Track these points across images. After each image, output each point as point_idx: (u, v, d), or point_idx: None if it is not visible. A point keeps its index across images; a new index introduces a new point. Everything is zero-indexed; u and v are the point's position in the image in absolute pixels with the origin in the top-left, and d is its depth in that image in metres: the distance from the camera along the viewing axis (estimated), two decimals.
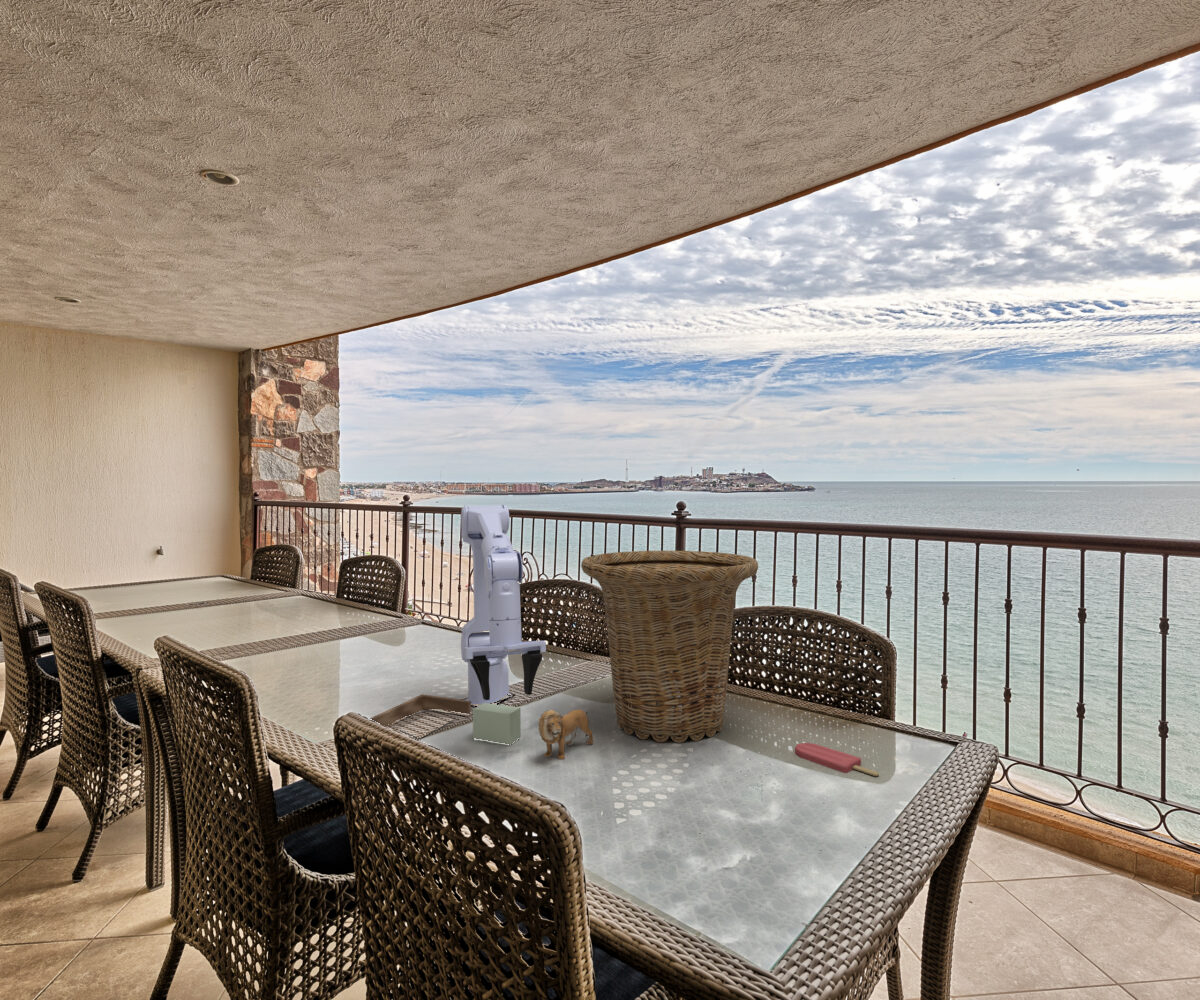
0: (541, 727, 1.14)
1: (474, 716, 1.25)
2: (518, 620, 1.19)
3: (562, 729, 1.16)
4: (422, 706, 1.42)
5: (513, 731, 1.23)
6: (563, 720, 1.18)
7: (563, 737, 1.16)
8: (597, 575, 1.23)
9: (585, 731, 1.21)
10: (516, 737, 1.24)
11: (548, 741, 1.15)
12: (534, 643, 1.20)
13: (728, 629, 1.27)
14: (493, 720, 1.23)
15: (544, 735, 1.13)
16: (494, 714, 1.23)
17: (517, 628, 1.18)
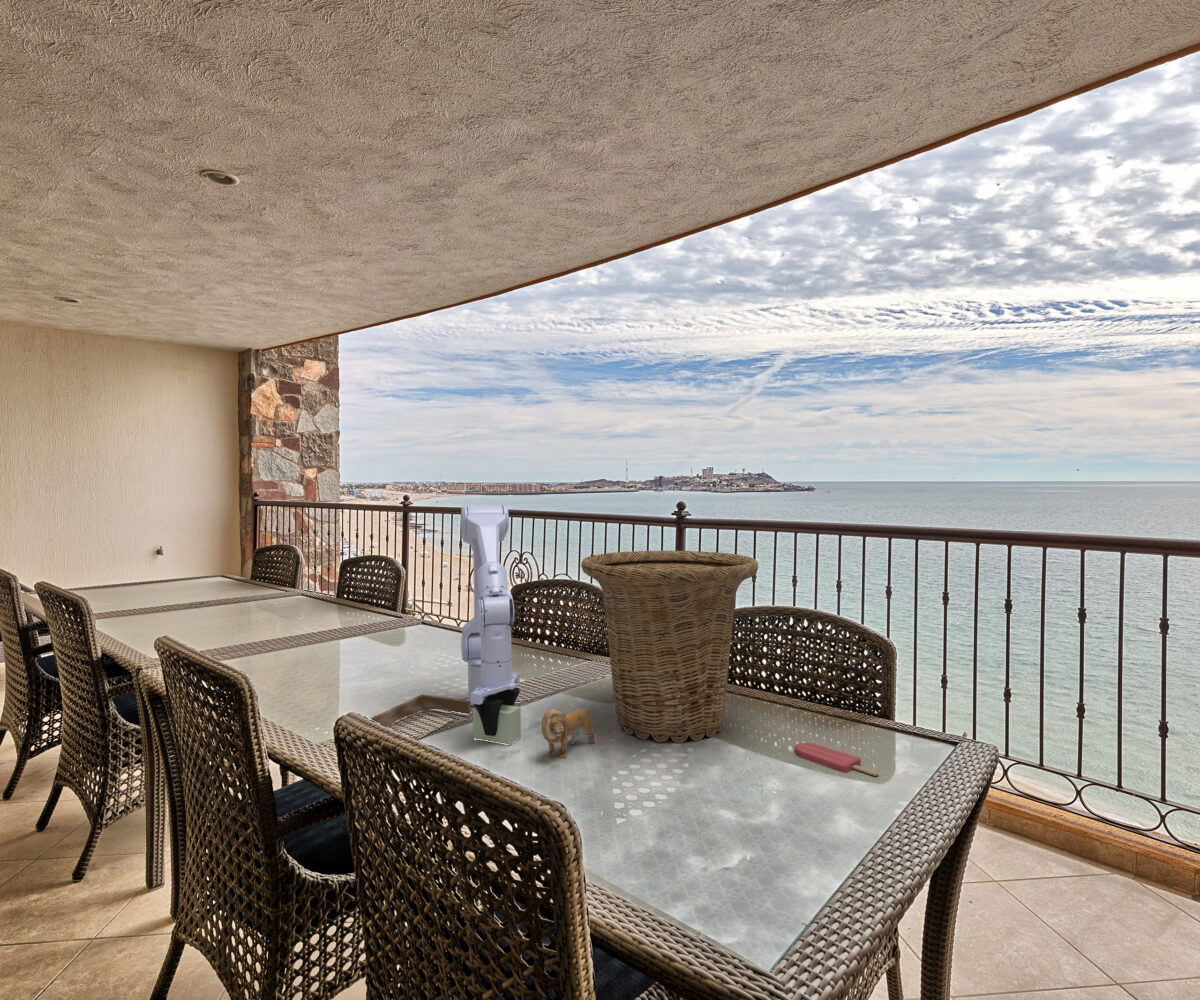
0: (544, 726, 1.14)
1: (474, 715, 1.25)
2: None
3: (565, 728, 1.17)
4: (422, 706, 1.42)
5: (513, 730, 1.23)
6: (565, 719, 1.18)
7: (565, 736, 1.17)
8: (597, 575, 1.23)
9: (587, 730, 1.22)
10: (516, 736, 1.24)
11: (551, 740, 1.15)
12: (516, 677, 1.29)
13: (728, 629, 1.27)
14: None
15: (547, 734, 1.14)
16: None
17: None
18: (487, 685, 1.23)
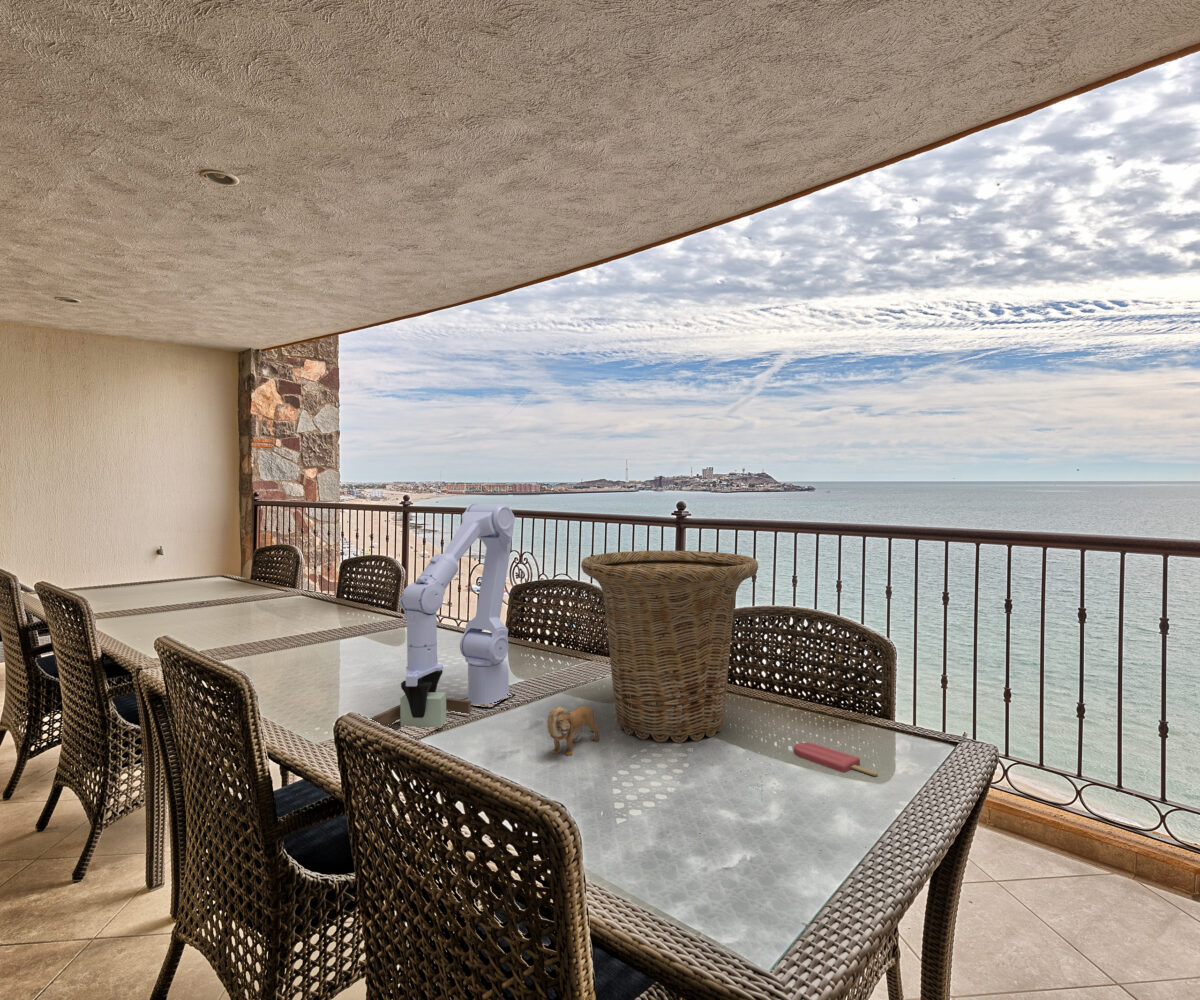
0: (550, 724, 1.15)
1: (402, 705, 1.30)
2: None
3: (570, 726, 1.18)
4: None
5: (442, 714, 1.31)
6: (571, 717, 1.19)
7: (571, 734, 1.18)
8: (597, 575, 1.23)
9: (591, 727, 1.23)
10: (444, 720, 1.32)
11: (557, 738, 1.17)
12: None
13: (728, 629, 1.27)
14: None
15: (553, 732, 1.15)
16: None
17: None
18: (417, 668, 1.29)
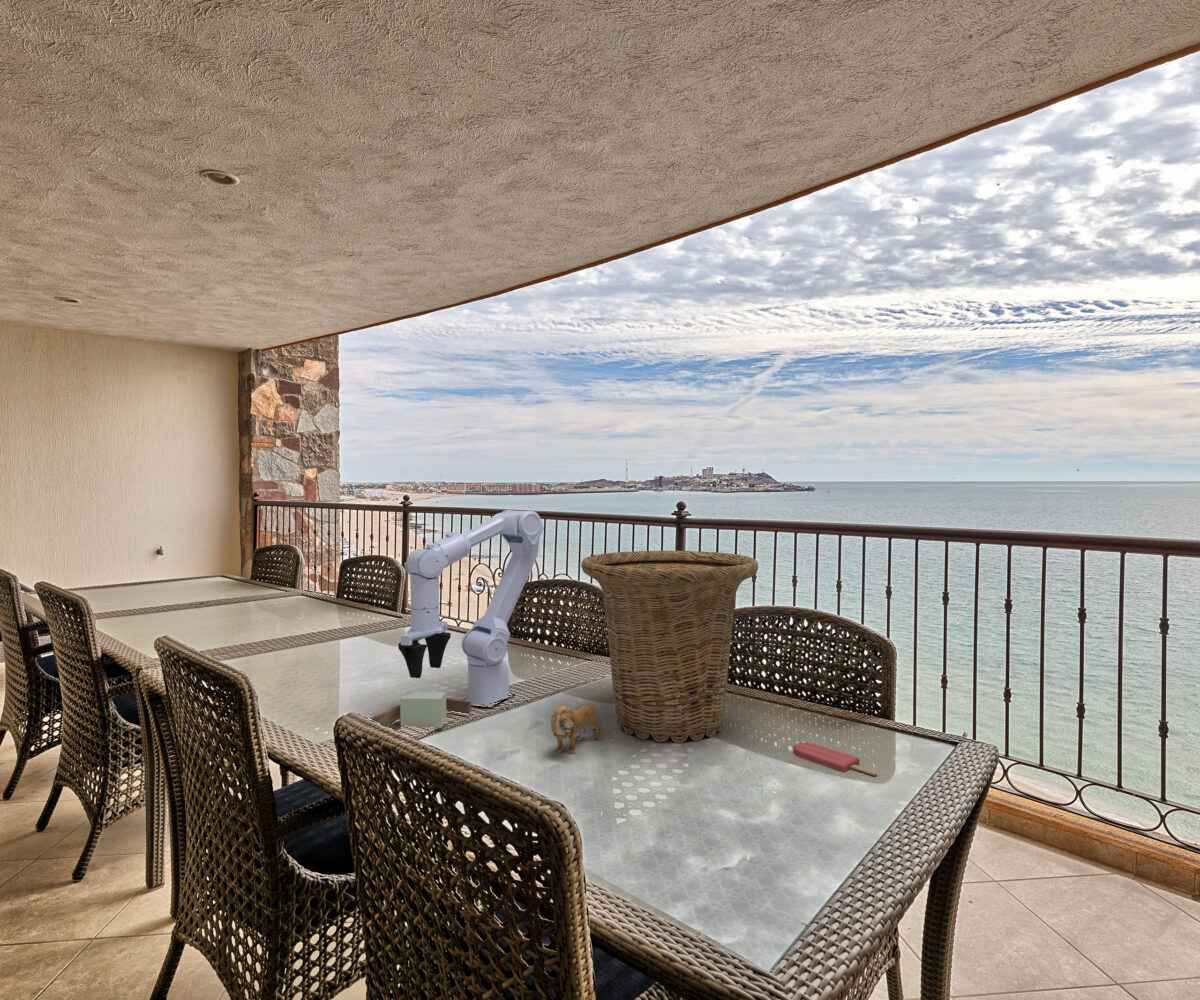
0: (554, 723, 1.16)
1: (402, 705, 1.30)
2: (438, 607, 1.38)
3: (573, 724, 1.18)
4: None
5: (442, 714, 1.31)
6: (573, 715, 1.20)
7: (574, 732, 1.19)
8: (597, 575, 1.23)
9: (594, 726, 1.24)
10: (444, 720, 1.32)
11: (560, 736, 1.17)
12: (443, 624, 1.42)
13: (728, 629, 1.27)
14: (422, 706, 1.30)
15: (557, 730, 1.16)
16: (423, 701, 1.30)
17: None
18: (416, 630, 1.35)
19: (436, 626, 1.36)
